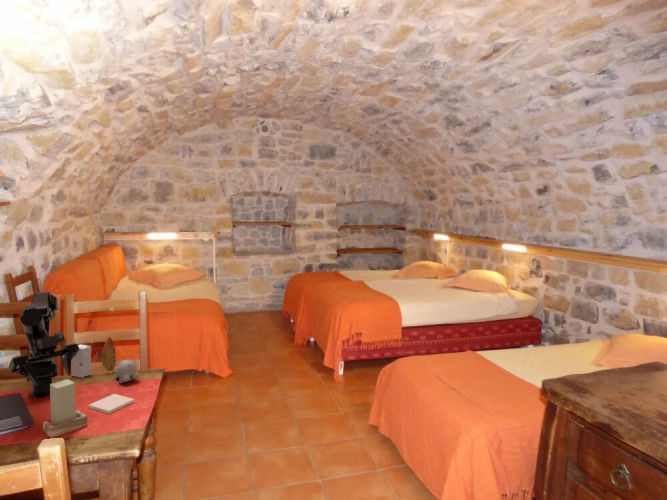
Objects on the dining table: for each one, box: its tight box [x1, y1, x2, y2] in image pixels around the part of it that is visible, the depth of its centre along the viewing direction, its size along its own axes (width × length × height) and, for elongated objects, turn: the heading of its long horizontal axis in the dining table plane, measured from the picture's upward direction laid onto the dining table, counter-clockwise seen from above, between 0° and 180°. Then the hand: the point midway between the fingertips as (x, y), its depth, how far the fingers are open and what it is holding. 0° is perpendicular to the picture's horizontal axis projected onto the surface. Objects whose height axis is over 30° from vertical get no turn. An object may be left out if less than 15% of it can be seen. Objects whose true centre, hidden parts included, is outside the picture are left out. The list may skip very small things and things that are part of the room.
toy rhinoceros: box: [114, 359, 140, 384], centre depth 165 cm, size 7×12×8 cm, turn 54°
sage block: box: [49, 378, 77, 426], centre depth 128 cm, size 5×5×14 cm
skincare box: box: [71, 344, 92, 379], centre depth 169 cm, size 6×4×12 cm
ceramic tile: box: [88, 393, 135, 415], centre depth 144 cm, size 10×10×1 cm
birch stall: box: [42, 410, 88, 439], centre depth 128 cm, size 6×10×3 cm, turn 145°
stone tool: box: [101, 336, 117, 372], centre depth 174 cm, size 5×2×15 cm, turn 126°
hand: (54, 379), depth 132 cm, fingers open, 9 cm apart
